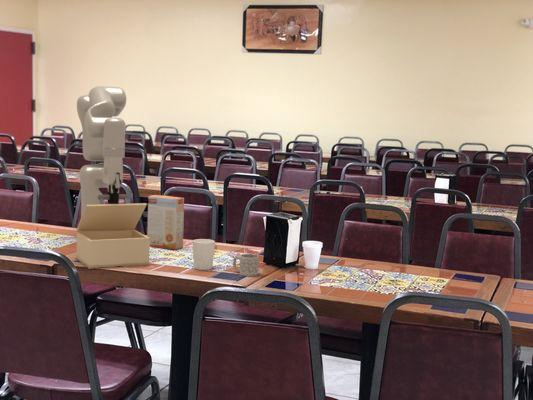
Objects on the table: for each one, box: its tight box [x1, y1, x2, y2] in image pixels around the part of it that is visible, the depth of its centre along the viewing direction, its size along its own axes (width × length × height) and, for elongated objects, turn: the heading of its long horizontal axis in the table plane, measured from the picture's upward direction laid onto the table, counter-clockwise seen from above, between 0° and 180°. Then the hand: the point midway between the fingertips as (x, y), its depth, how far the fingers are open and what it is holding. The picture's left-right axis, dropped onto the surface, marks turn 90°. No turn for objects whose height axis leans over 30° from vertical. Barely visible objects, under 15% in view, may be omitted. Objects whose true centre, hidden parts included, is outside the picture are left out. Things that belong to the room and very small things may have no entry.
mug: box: [232, 253, 260, 277], centre depth 271 cm, size 10×7×7 cm
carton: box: [75, 229, 151, 270], centre depth 280 cm, size 18×22×10 cm
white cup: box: [192, 238, 216, 271], centre depth 276 cm, size 8×8×10 cm
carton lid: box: [76, 193, 148, 233], centre depth 282 cm, size 18×22×6 cm
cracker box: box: [146, 194, 185, 251], centre depth 311 cm, size 14×6×21 cm, turn 63°
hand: (113, 203), depth 278 cm, fingers closed on carton lid, 2 cm apart
